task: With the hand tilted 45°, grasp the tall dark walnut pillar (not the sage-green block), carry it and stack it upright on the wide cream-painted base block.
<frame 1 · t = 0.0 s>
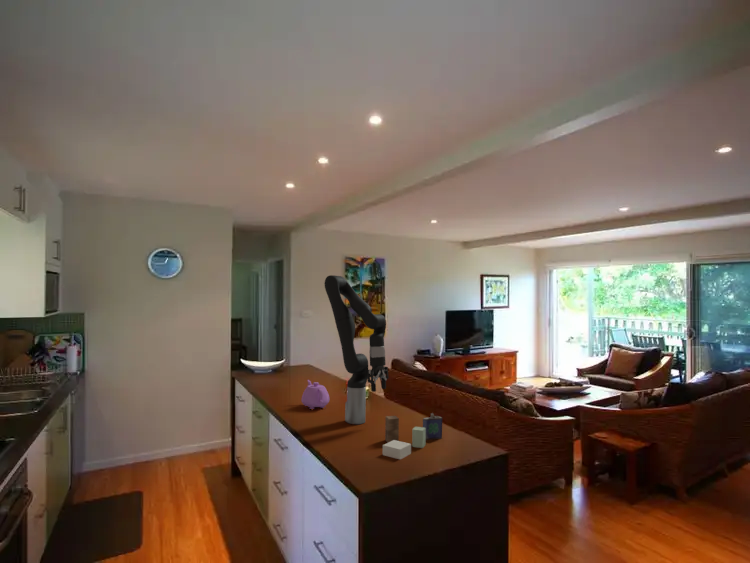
hand: (378, 390, 201), 17 cm above the countertop, tool pointing down, fingers open, 8 cm apart
walnut pillar: (391, 441, 179), on the countertop
flask: (432, 438, 184), on the countertop
base block: (396, 455, 163), on the countertop
sage block: (418, 445, 174), on the countertop
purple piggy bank: (314, 407, 237), on the countertop
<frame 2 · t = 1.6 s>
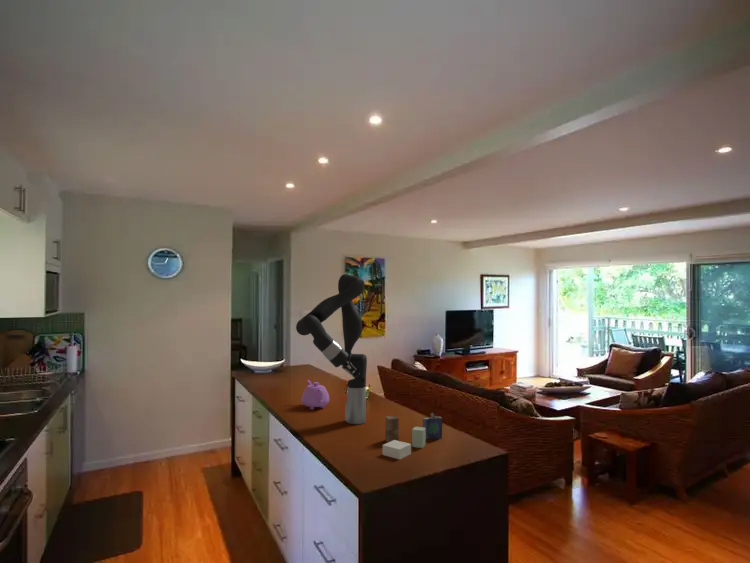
hand: (361, 380, 177), 26 cm above the countertop, tool tilted 45°, fingers open, 8 cm apart
nothing on the countertop moved.
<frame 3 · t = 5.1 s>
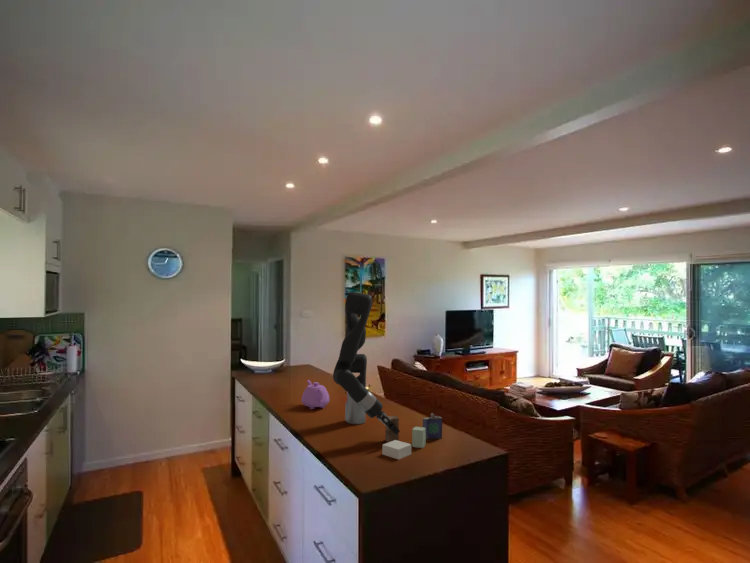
hand: (396, 431, 180), 4 cm above the countertop, tool tilted 45°, fingers closed on walnut pillar, 4 cm apart
walnut pillar: (391, 441, 179), on the countertop, touching gripper
everything else where it was.
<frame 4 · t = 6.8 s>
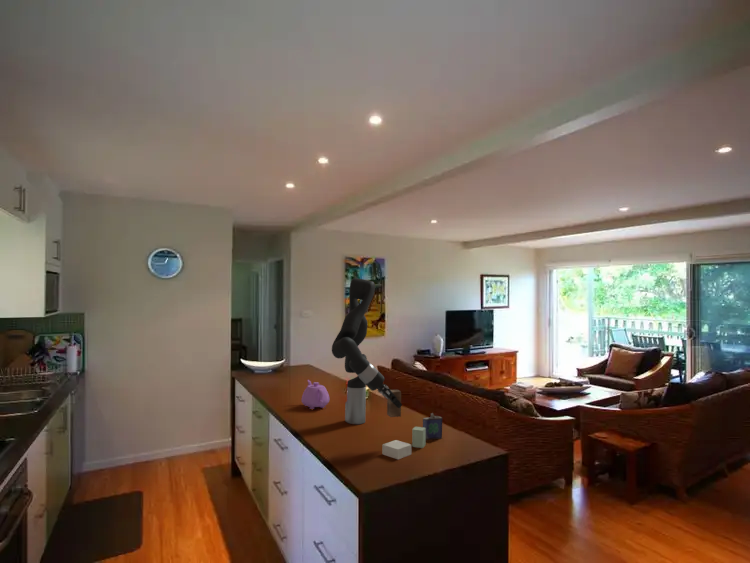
hand: (398, 405, 174), 17 cm above the countertop, tool tilted 45°, fingers closed on walnut pillar, 4 cm apart
walnut pillar: (393, 415, 173), point 12 cm above the countertop, touching gripper
everything else where it was.
when the fingers open (9 cm above the countertop, at t = 9.0 s): walnut pillar drops 2 cm, point 4 cm above the countertop.
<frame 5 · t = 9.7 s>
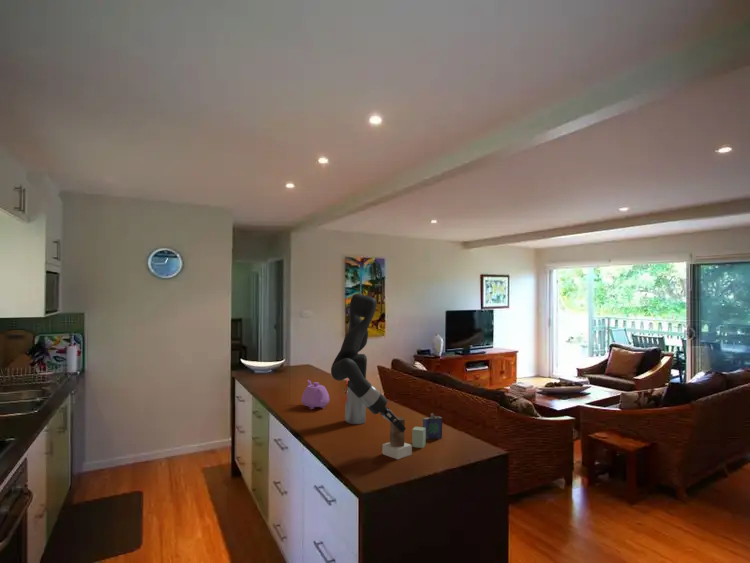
hand: (400, 427, 164), 10 cm above the countertop, tool tilted 45°, fingers open, 8 cm apart
walnut pillar: (396, 444, 164), point 4 cm above the countertop
everything else where it was.
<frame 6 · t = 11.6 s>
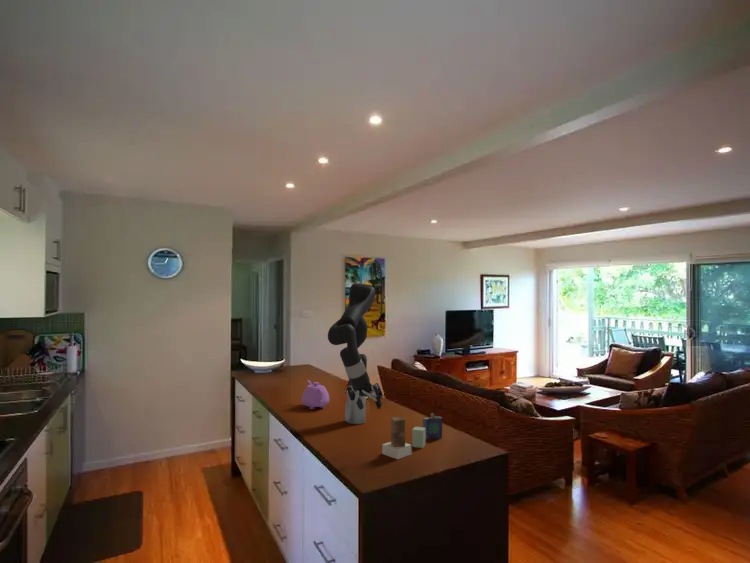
hand: (370, 408, 166), 17 cm above the countertop, tool tilted 25°, fingers open, 8 cm apart
nothing on the countertop moved.
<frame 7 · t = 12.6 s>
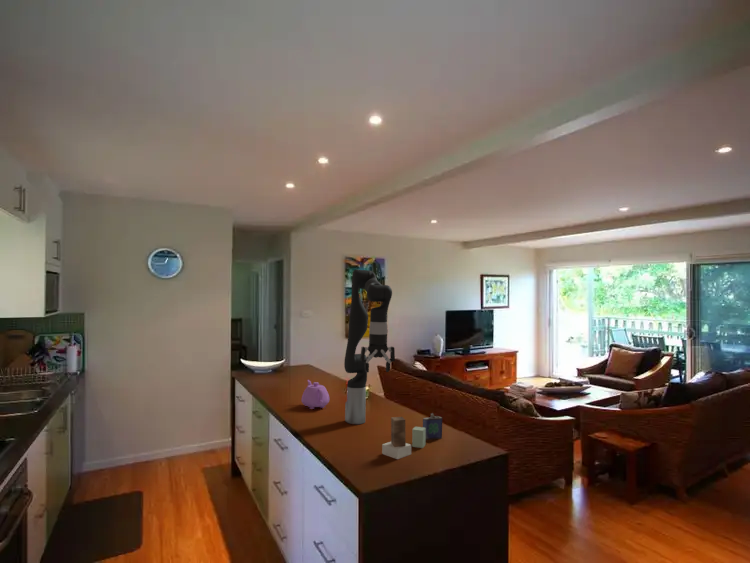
hand: (377, 371, 175), 30 cm above the countertop, tool pointing down, fingers open, 8 cm apart
walnut pillar: (398, 444, 164), point 4 cm above the countertop, touching base block
base block: (396, 454, 164), on the countertop, touching walnut pillar
everything else where it was.
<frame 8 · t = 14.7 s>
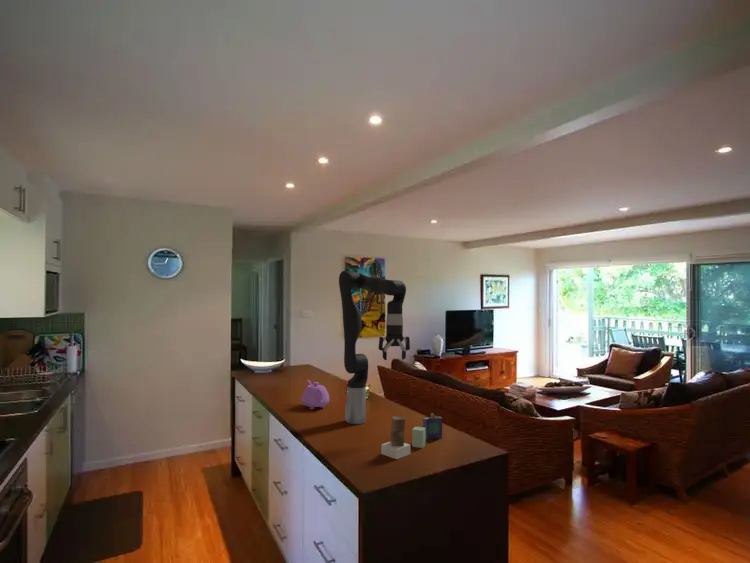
hand: (394, 359, 191), 33 cm above the countertop, tool pointing down, fingers open, 8 cm apart
walnut pillar: (397, 443, 164), point 4 cm above the countertop
base block: (395, 455, 164), on the countertop
everything else where it was.
at the end: walnut pillar inside the target area on the base block (0.6 cm from its centre), point 4.1 cm above the base block's base; walnut pillar tilted 2°; the gripper is holding nothing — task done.
